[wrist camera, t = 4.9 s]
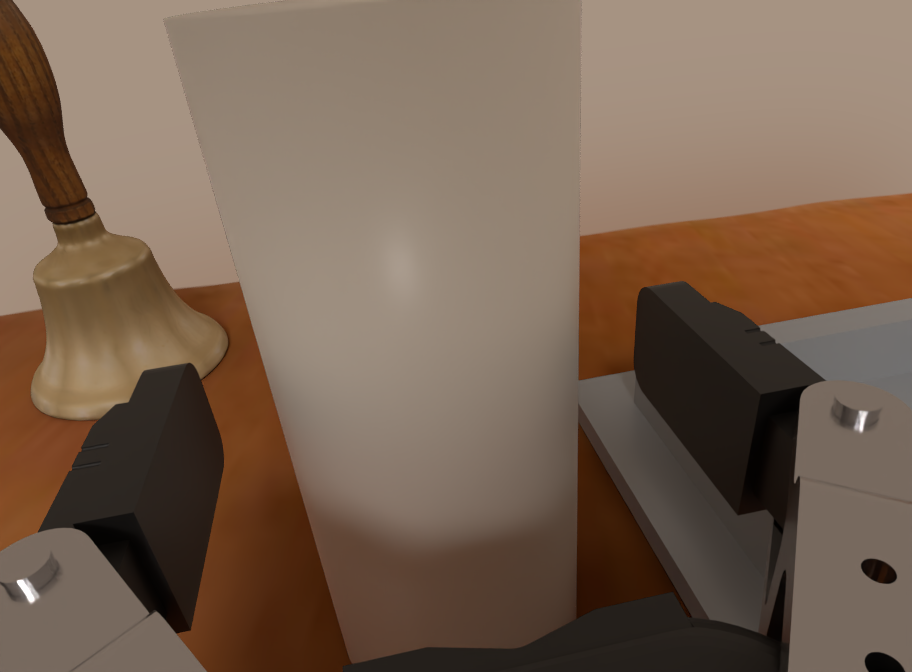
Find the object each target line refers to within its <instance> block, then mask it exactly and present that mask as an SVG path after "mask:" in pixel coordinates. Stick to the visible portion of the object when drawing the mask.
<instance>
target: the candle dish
mask: <svg viewBox="0 0 912 672" xmlns="http://www.w3.org/2000/svg"><path fill="white" fill-rule="evenodd" d="M759 327H760V330H761V331H765V332H766V333H767V334H769V335H770V336H771V337H772V338H774V339H775V342H776V344H777V343H780V344H781V345H782V346H784V347H785V348H786V349H787V350H789V351H790V352H791V353H792V354H794V355H795V356H796V357H797V358H799V359H800V360H801V361H802V362H804V363H805V364H806V365H807V366H809V367H810V368H811V369H812V370H814V371H815V372H816V373H817V374H819V375H820V376H821V377H822V378H824V379H825V380H826V381H831V380H844V381H853V382H859V383H864V384H867V385H871V386H874V387H877V388H880V389H882V390H884V391H887V392H889V393H891V394H893V395H894V396H896V397H897V398H899V399H900V400H902V401H903V402H904V403H906V404H907V406H908V407H909V408H910V409H911V410H912V298H910V299H905V300H899V301H894V302H888V303H883V304H877V305H872V306H866V307H860V308H855V309H849V310H844V311H838V312H833V313H827V314H822V315H816V316H811V317H805V318H800V319H794V320H789V321H783V322H777V323H772V324H766V325H761V326H759ZM578 422H579V423H580V425H581V427H582V429H583V430H584V432H585V434H586V435H587V437H588V439H589V441H590V442H591V444H592V446H593V447H594V449H595V451H596V453H597V454H598V456H599V458H600V459H601V461H602V463H603V465H604V466H605V468H606V470H607V472H608V473H609V475H610V477H611V478H612V480H613V482H614V484H615V485H616V487H617V489H618V490H619V492H620V494H621V496H622V497H623V499H624V501H625V502H626V504H627V506H628V508H629V509H630V511H631V513H632V515H633V516H634V518H635V520H636V521H637V523H638V525H639V527H640V528H641V530H642V532H643V533H644V535H645V537H646V539H647V540H648V542H649V544H650V545H651V547H652V549H653V551H654V552H655V554H656V556H657V558H658V559H659V561H660V563H661V564H662V566H663V568H664V570H665V571H666V573H667V575H668V576H669V578H670V580H671V582H672V583H673V585H674V587H675V588H676V590H677V592H678V594H679V595H680V597H681V599H682V600H683V602H684V604H685V606H686V607H687V609H688V611H689V613H690V614H691V616H692V618H701V619H708V620H716V621H721V622H725V623H729V624H733V625H737V626H740V627H743V628H746V629H749V630H752V631H755V632H758V630H759V623H760V615H761V606H762V597H763V588H764V579H765V569H766V560H767V551H768V542H769V533H770V529H771V525H772V520H773V517H772V515H771V514H770V513H769V512H768V511H767V510H762V511H757V512H753V513H748V514H743V515H739V516H738V515H737V514H736V513H735V512H734V510H733V509H732V508H731V506H730V505H729V504H728V502H727V501H726V500H725V499H724V497H723V496H722V495H721V493H720V492H719V491H718V489H717V488H716V487H715V486H714V484H713V483H712V482H711V480H710V479H709V478H708V477H707V475H706V474H705V473H704V471H703V470H702V469H701V467H700V466H699V465H698V464H697V462H696V461H695V460H694V458H693V457H692V456H691V454H690V453H689V452H688V451H687V449H686V448H685V447H684V445H683V444H682V443H681V441H680V440H679V439H678V438H677V436H676V435H675V434H674V432H673V431H672V430H671V428H670V427H669V426H668V425H667V423H666V422H665V421H664V419H663V418H662V417H661V416H660V414H659V413H658V412H657V410H656V409H655V408H654V406H653V405H652V404H651V403H650V401H649V400H648V399H647V397H646V396H645V395H644V393H643V392H642V390H641V389H640V387H639V384H638V382H637V379H636V375H635V370H634V371H628V372H623V373H617V374H612V375H607V376H601V377H596V378H590V379H585V380H580V381H578Z"/></svg>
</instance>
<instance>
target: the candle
mask: <svg viewBox="0 0 912 672" xmlns="http://www.w3.org/2000/svg"><path fill="white" fill-rule="evenodd" d="M581 7H582V1H581V0H285V1H277V2H269V3H261V4H253V5H245V6H238V7H231V8H223V9H216V10H209V11H202V12H196V13H190V14H183V15H178V16H172V17H168V18H165V19H163V20H164V24H165V27H166V30H167V34H168V38H169V41H170V44H171V48H172V51H173V55H174V58H175V61H176V65H177V68H178V72H179V75H180V79H181V82H182V86H183V89H184V93H185V96H186V99H187V103H188V106H189V110H190V113H191V117H192V120H193V123H194V127H195V130H196V134H197V137H198V140H199V144H200V148H201V151H202V154H203V158H204V161H205V164H206V168H207V171H208V175H209V178H210V182H211V185H212V189H213V192H214V195H215V199H216V202H217V206H218V209H219V213H220V216H221V220H222V223H223V227H224V230H225V233H226V237H227V240H228V244H229V247H230V251H231V254H232V257H233V261H234V264H235V267H236V271H237V275H238V278H239V282H240V285H241V289H242V292H243V295H244V299H245V302H246V306H247V309H248V313H249V316H250V319H251V323H252V326H253V330H254V333H255V337H256V340H257V344H258V347H259V350H260V354H261V357H262V361H263V364H264V368H265V371H266V374H267V378H268V381H269V385H270V388H271V392H272V395H273V399H274V402H275V405H276V409H277V412H278V416H279V419H280V423H281V426H282V429H283V433H284V436H285V440H286V443H287V447H288V450H289V454H290V457H291V460H292V464H293V467H294V471H295V474H296V478H297V481H298V484H299V488H300V491H301V495H302V498H303V502H304V505H305V509H306V512H307V515H308V519H309V522H310V526H311V529H312V533H313V536H314V539H315V543H316V546H317V550H318V553H319V557H320V560H321V564H322V567H323V570H324V574H325V577H326V581H327V584H328V588H329V591H330V595H331V598H332V601H333V605H334V608H335V612H336V615H337V619H338V622H339V625H340V629H341V632H342V636H343V639H344V643H345V646H346V650H347V653H348V656H349V659H350V661H351V663H352V664H354V663H359V662H363V661H368V660H372V659H377V658H381V657H386V656H390V655H394V654H399V653H403V652H408V651H412V650H417V649H421V648H426V647H449V648H499V649H513V648H519V647H523V646H525V645H527V644H529V643H531V642H533V641H535V640H537V639H539V638H541V637H543V636H545V635H547V634H549V633H550V632H552V631H554V630H556V629H558V628H560V627H562V626H564V625H566V624H568V623H570V622H572V621H574V620H576V594H577V478H578V361H579V245H580V128H581V123H580V122H581V12H582V8H581Z"/></svg>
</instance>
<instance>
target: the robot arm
mask: <svg viewBox="0 0 912 672" xmlns="http://www.w3.org/2000/svg"><path fill="white" fill-rule="evenodd" d="M634 370H635V375H636V379H637V382H638V384H639V387H640V389H641V390H642V392H643V393H644V395H645V396H646V397H647V399H648V400H649V401H650V403H651V404H652V405H653V406H654V408H655V409H656V410H657V412H658V413H659V414H660V416H661V417H662V418H663V419H664V421H665V422H666V423H667V425H668V426H669V427H670V428H671V430H672V431H673V432H674V434H675V435H676V436H677V438H678V439H679V440H680V441H681V443H682V444H683V445H684V447H685V448H686V449H687V451H688V452H689V453H690V454H691V456H692V457H693V458H694V460H695V461H696V462H697V464H698V465H699V466H700V467H701V469H702V470H703V471H704V473H705V474H706V475H707V477H708V478H709V479H710V480H711V482H712V483H713V484H714V486H715V487H716V488H717V489H718V491H719V492H720V493H721V495H722V496H723V497H724V499H725V500H726V501H727V502H728V504H729V505H730V506H731V508H732V509H733V510H734V512H735V513H736V514H737V515H738V516H739V515H743V514H748V513H753V512H757V511H762V510H767V511H768V512H769V513H770V514H771V515H772V517H773V520H772V525H771V529H770V533H769V542H768V551H767V560H766V569H765V579H764V588H763V597H762V606H761V615H760V623H759V630H758V632H755V631H752V630H749V629H746V628H743V627H740V626H737V625H733V624H729V623H725V622H721V621H716V620H708V619H701V618H688V617H687V616H686V614H685V612H684V610H683V609H682V607H681V605H680V603H679V602H678V600H677V598H676V596H675V595H674V593H673V592H670V593H665V594H661V595H656V596H652V597H647V598H643V599H639V600H634V601H630V602H625V603H621V604H616V605H612V606H608V607H603V608H599V609H595V610H593V611H591V612H589V613H587V614H585V615H583V616H581V617H579V618H578V619H576V620H574V621H572V622H570V623H568V624H566V625H564V626H562V627H560V628H558V629H556V630H554V631H552V632H550V633H549V634H547V635H545V636H543V637H541V638H539V639H537V640H535V641H533V642H531V643H529V644H527V645H525V646H523V647H519V648H513V649H499V648H449V647H426V648H421V649H417V650H412V651H408V652H403V653H399V654H394V655H390V656H386V657H381V658H377V659H372V660H368V661H363V662H359V663H354V664H350V665H346V666H343V672H912V410H911V409H910V408H909V407H908V406H907V404H906V403H904V402H903V401H902V400H900V399H899V398H897V397H896V396H894V395H893V394H891V393H889V392H887V391H884V390H882V389H880V388H877V387H874V386H871V385H867V384H864V383H859V382H853V381H844V380H831V381H826V380H825V379H824V378H822V377H821V376H820V375H819V374H817V373H816V372H815V371H814V370H812V369H811V368H810V367H809V366H807V365H806V364H805V363H804V362H802V361H801V360H800V359H799V358H797V357H796V356H795V355H794V354H792V353H791V352H790V351H789V350H787V349H786V348H785V347H784V346H782V345H781V344H780V343H777V344H776V342H775V339H774V338H772V337H771V336H770V335H769V334H767V333H766V332H765V331H761V330H760V327H759V326H757V325H756V324H755V323H754V322H752V321H751V320H750V319H749V318H747V317H746V316H745V315H744V314H742V313H741V312H738V311H736V310H733V309H731V308H729V307H726V306H724V305H721V304H719V303H717V302H712V303H710V302H709V301H708V300H707V299H706V298H704V297H703V296H702V295H701V294H700V293H699V292H697V291H696V290H695V289H694V288H693V287H691V286H690V285H689V284H688V283H686V282H684V281H680V282H674V283H668V284H662V285H656V286H650V287H644V288H642V289H641V291H640V292H639V295H638V300H637V314H636V330H635V347H634ZM81 449H82V452H79V453H78V455H77V457H76V459H75V461H74V463H73V465H72V471H69V472H68V474H67V476H66V478H65V480H64V482H63V484H62V486H61V488H60V490H59V492H58V494H57V496H56V498H55V500H54V502H53V504H52V505H51V507H50V509H49V511H48V513H47V515H46V517H45V519H44V521H43V523H42V525H41V527H40V529H39V531H38V533H36V534H33V535H30V536H28V537H26V538H23V539H21V540H19V541H17V542H15V543H14V544H12V545H10V546H8V547H7V548H5V549H4V550H2V551H1V552H0V672H207V671H206V670H205V669H204V668H203V666H202V665H201V664H200V663H199V661H198V660H197V659H196V658H195V657H194V655H193V654H192V653H191V652H190V650H189V649H188V648H187V647H186V645H185V644H184V643H183V642H182V640H181V639H180V638H179V637H178V636H177V634H176V633H180V632H185V631H190V630H191V626H192V621H193V616H194V611H195V606H196V601H197V596H198V591H199V586H200V582H201V577H202V572H203V567H204V562H205V557H206V552H207V547H208V542H209V537H210V532H211V527H212V523H213V518H214V513H215V508H216V503H217V498H218V493H219V488H220V483H221V478H222V473H223V468H224V453H223V445H222V440H221V436H220V433H219V430H218V427H217V424H216V421H215V419H214V416H213V413H212V410H211V407H210V404H209V402H208V399H207V396H206V393H205V390H204V388H203V385H202V382H201V379H200V376H199V374H198V372H197V369H196V368H195V366H194V365H193V364H192V363H184V364H178V365H172V366H166V367H161V368H155V369H149V370H144V371H143V372H142V374H141V376H140V378H139V380H138V382H137V384H136V387H135V389H134V391H133V393H132V395H131V398H130V400H129V402H126V403H121V404H115V405H114V406H113V407H112V408H111V409H110V410H109V411H108V412H107V413H106V414H105V415H104V416H102V417H101V418H100V419H99V420H98V421H97V422H96V423H95V424H94V425H93V426H92V428H91V430H90V432H89V434H88V436H87V438H86V439H85V441H84V443H83V445H82V447H81Z"/></svg>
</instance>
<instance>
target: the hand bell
mask: <svg viewBox="0 0 912 672" xmlns="http://www.w3.org/2000/svg"><path fill="white" fill-rule="evenodd" d="M0 129H1V130H2V131H3V132H4V133H5V135H6V136H7V137H8V138H9V140H10V141H11V142H12V143H13V145H14V146H15V147H16V149H17V150H18V152H19V153H20V155H21V156H22V158H23V160H24V162H25V164H26V166H27V168H28V170H29V172H30V175H31V178H32V180H33V183H34V186H35V188H36V191H37V193H38V196H39V198H40V201H41V203H42V205H43V206H45V207H46V208H45V214H46V216H47V218H48V220H49V221H51V222H53V228H54V231H55V233H56V236H57V239H58V245H57V247H56V248H55V249H54V250H53V251H52V252H51V253H50V254H49V255H48V256H46V257H45V258H44V259H42V260H41V261H40V262H39V263H38V264H37V266H36V267H35V269H34V273H33V280H34V283H35V285H36V289H37V292H38V295H39V297H40V302H41V306H42V310H43V314H44V319H45V325H46V336H47V343H46V350H45V355H44V359H43V361H42V362H41V364H40V365H39V367H38V368H37V370H36V372H35V374H34V377H33V380H32V385H31V398H32V401H33V403H34V405H35V406H36V407H37V408H38V409H39V410H40V411H41V412H43V413H45V414H47V415H49V416H52V417H55V418H61V419H67V420H99V419H100V418H101V417H102V416H104V415H105V414H106V413H107V412H108V411H109V410H110V409H111V408H112V407H113V406H114V405H115V404H121V403H126V402H129V400H130V398H131V395H132V393H133V391H134V389H135V387H136V384H137V382H138V380H139V378H140V376H141V374H142V372H143V371H144V370H149V369H155V368H161V367H166V366H172V365H178V364H184V363H192V364H193V365H194V366H195V368H196V369H197V372H198V374H199V376H200V379H203V378H204V377H205V376H206V375H208V374H209V373H210V372H211V371H212V370H213V369H214V368H215V367H216V366H217V365H218V364H219V363H220V361H221V359H222V358H223V357H224V355H225V352H226V350H227V348H228V337H227V334H226V332H225V330H224V329H223V328H222V327H221V326H220V325H219V324H218V323H217V322H216V321H215V320H213V319H212V318H211V317H209V316H207V315H205V314H202V313H199V312H196V311H195V310H193V309H192V308H190V307H189V306H188V305H187V304H186V303H184V302H183V301H182V300H181V299H180V298H179V296H178V295H177V294H176V293H175V291H174V290H173V289H172V287H171V286H170V284H169V283H168V281H167V280H166V278H165V277H164V275H163V273H162V271H161V270H160V268H159V266H158V264H157V262H156V260H155V258H154V256H153V254H152V252H151V250H150V248H149V247H148V246H147V245H146V243H144V242H143V241H141V240H140V239H137V238H133V237H129V236H120V235H116V234H112V233H109V232H108V231H106V230H105V228H104V225H103V224H102V221H101V219H100V217H99V215H98V214H97V213H96V212H95V208H94V205H93V203H92V201H91V200H90V199H89V198H87V191H86V189H85V187H84V185H83V182H82V180H81V178H80V176H79V174H78V172H77V169H76V167H75V165H74V163H73V161H72V159H71V157H70V154H69V151H68V148H67V145H66V141H65V137H64V130H63V120H62V111H61V103H60V98H59V93H58V89H57V85H56V82H55V79H54V76H53V73H52V70H51V67H50V65H49V62H48V59H47V57H46V55H45V52H44V50H43V47H42V45H41V43H40V41H39V39H38V38H37V36H36V34H35V32H34V30H33V28H32V27H31V25H30V24H29V22H28V21H27V19H26V18H25V17H24V15H23V14H22V12H21V11H20V10H19V8H18V7H17V6H16V4H15V3H14V2H13V0H0Z"/></svg>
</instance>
